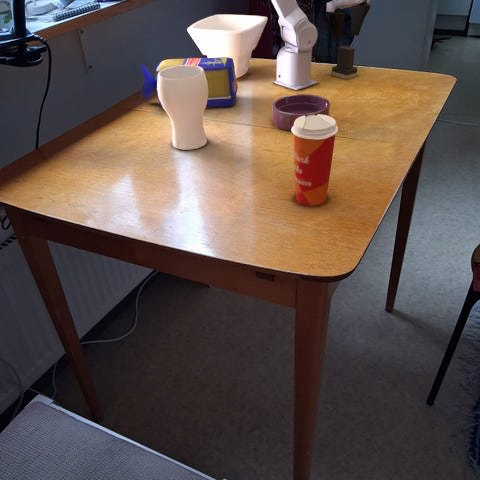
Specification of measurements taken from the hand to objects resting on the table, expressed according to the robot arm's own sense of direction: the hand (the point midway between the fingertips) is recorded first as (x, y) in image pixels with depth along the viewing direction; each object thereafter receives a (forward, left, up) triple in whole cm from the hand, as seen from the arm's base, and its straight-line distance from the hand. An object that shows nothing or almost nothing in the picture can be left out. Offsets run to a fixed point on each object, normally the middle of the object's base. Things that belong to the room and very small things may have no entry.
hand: (345, 38), depth 132 cm
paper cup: (+44, -56, -10) cm, 72 cm away
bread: (-14, -43, -10) cm, 46 cm away
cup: (+7, -58, -10) cm, 59 cm away
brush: (+1, 0, -10) cm, 10 cm away
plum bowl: (+16, -32, -10) cm, 37 cm away
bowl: (-24, -22, -10) cm, 34 cm away
